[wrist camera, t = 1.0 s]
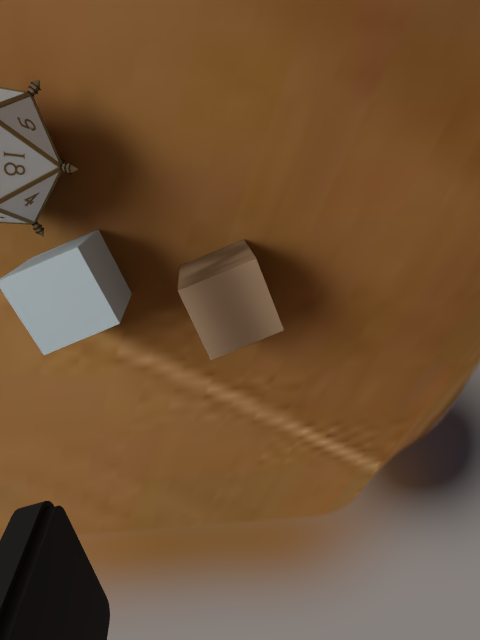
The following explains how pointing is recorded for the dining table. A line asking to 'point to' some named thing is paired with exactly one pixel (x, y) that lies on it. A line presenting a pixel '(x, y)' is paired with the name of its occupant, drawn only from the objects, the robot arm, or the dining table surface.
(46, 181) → the game die
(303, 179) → the dining table surface
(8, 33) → the dining table surface
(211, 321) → the walnut block
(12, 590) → the robot arm
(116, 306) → the grey block
